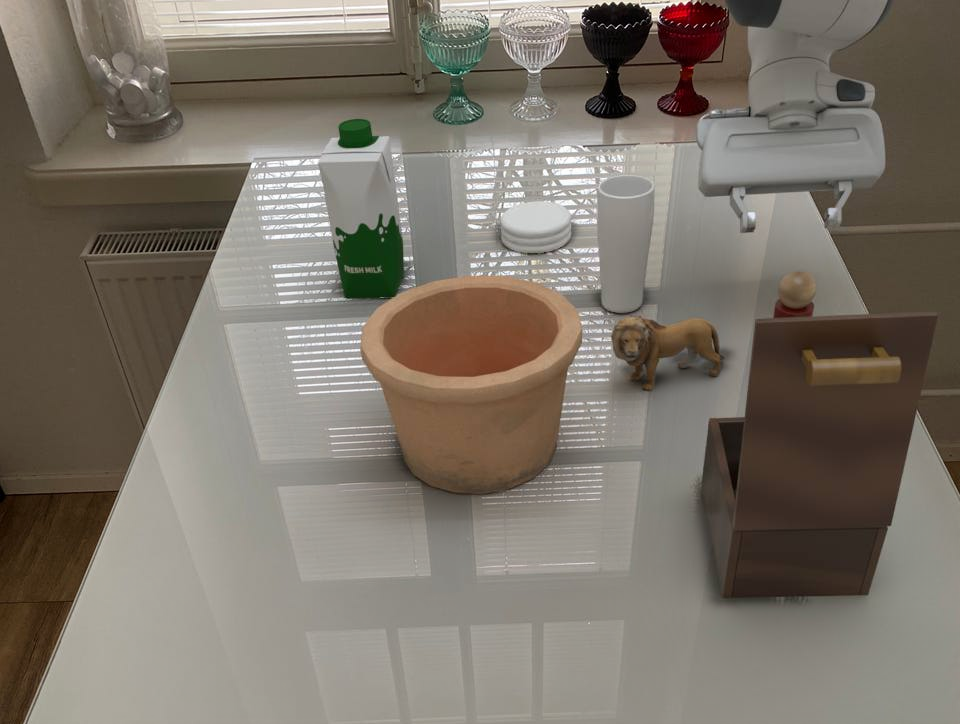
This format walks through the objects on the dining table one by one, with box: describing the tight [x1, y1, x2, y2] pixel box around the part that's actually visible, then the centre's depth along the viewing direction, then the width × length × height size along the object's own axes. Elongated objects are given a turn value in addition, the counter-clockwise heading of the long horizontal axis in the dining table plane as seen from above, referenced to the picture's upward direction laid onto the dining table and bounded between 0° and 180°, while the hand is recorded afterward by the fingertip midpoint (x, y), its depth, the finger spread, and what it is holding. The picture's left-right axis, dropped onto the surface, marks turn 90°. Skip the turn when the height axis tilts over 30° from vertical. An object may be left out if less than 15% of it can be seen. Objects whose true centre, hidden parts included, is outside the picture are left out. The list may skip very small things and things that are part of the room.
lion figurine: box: [610, 315, 725, 392], centre depth 111 cm, size 15×5×9 cm, turn 113°
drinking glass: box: [596, 174, 655, 314], centre depth 122 cm, size 7×7×15 cm
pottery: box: [359, 275, 583, 495], centre depth 102 cm, size 22×22×14 cm
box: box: [700, 416, 889, 599], centre depth 91 cm, size 17×13×9 cm
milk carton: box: [317, 118, 405, 299], centre depth 128 cm, size 9×9×20 cm
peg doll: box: [772, 270, 817, 318], centre depth 111 cm, size 4×4×11 cm
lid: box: [733, 310, 939, 530], centre depth 74 cm, size 17×13×5 cm
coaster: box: [500, 200, 572, 254], centre depth 140 cm, size 10×10×4 cm
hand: (790, 228), depth 112 cm, fingers open, 8 cm apart
